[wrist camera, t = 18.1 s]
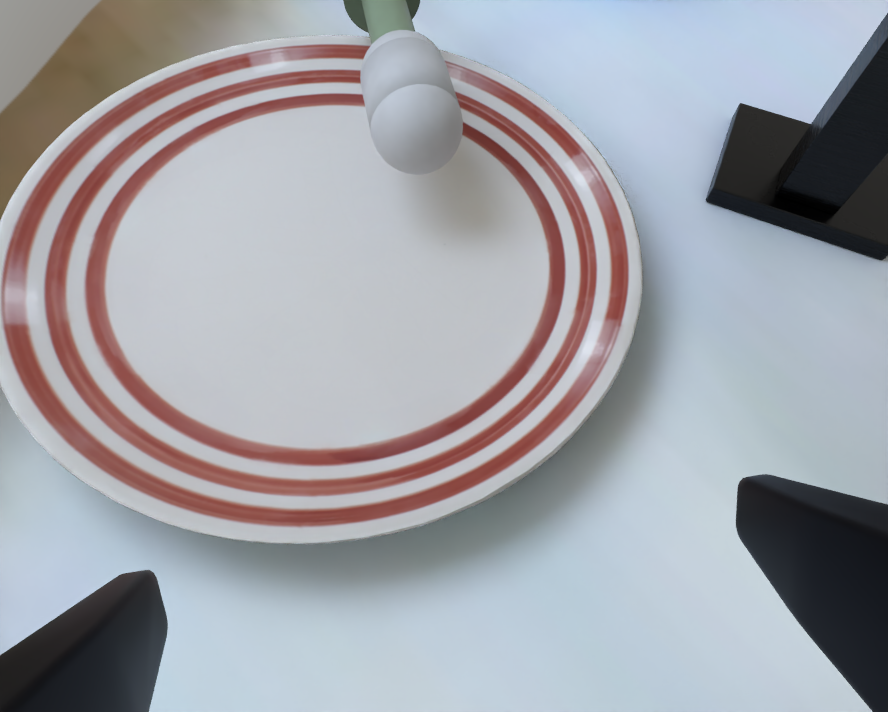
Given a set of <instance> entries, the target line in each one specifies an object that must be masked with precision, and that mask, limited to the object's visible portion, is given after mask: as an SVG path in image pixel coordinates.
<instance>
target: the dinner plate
mask: <svg viewBox="0 0 888 712" xmlns="http://www.w3.org/2000/svg"><path fill="white" fill-rule="evenodd" d="M371 45H372V44H371V40H370V37H364V36H351V35H312V36H296V37H286V38H277V39H269V40H263V41H257V42H251V43H246V44H241V45H236V46H232V47H227V48H224V49H221V50H217V51H213V52H210V53H206V54H202V55H199V56H196V57H193V58H190V59H187V60H184V61H181V62H179V63H176V64H173V65H171V66H168V67H166V68H163V69H161V70H159V71H156V72H154V73H152V74H150V75H148V76H146V77H144V78H142V79H140V80H138V81H136V82H134V83H132V84H131V85H129V86H127V87H125V88H123V89H121V90H119V91H118V92H116V93H114V94H113V95H111V96H109V97H108V98H106V99H105V100H104V101H102V102H101V103H99V104H98V105H96V106H95V107H94V108H92V109H91V110H89V111H88V112H87V113H85V114H84V115H83V116H81V117H80V118H79V119H78V120H77V121H75V122H74V123H73V124H72V125H71V126H69V127H68V128H67V129H66V130H65V131H64V132H63V133H62V134H61V135H60V136H59V137H58V138H57V139H56V140H55V141H54V142H53V143H52V144H51V145H50V146H49V147H48V148H47V149H46V150H45V152H44V153H43V154H42V155H41V156H40V157H39V159H38V160H37V161H36V162H35V163H34V165H33V166H32V167H31V168H30V170H29V171H28V173H27V174H26V175H25V177H24V178H23V180H22V181H21V183H20V184H19V186H18V188H17V189H16V191H15V193H14V194H13V196H12V197H11V199H10V201H9V203H8V205H7V207H6V210H5V212H4V214H3V216H2V218H1V221H0V386H1V388H2V390H3V392H4V394H5V396H6V398H7V400H8V402H9V404H10V405H11V407H12V409H13V410H14V412H15V414H16V415H17V416H18V418H19V419H20V421H21V422H22V424H23V425H24V426H25V427H26V429H27V430H28V431H29V432H30V434H31V435H32V436H33V437H34V439H35V440H36V441H37V442H38V443H39V444H40V445H41V446H42V447H43V448H44V449H45V450H46V451H47V452H48V453H49V454H50V455H51V457H52V458H53V459H54V460H56V461H57V462H58V463H59V464H60V465H62V466H63V467H64V468H65V469H66V470H68V471H69V472H70V473H72V474H73V475H74V476H76V477H77V478H78V479H80V480H81V481H83V482H84V483H86V484H88V485H89V486H91V487H92V488H94V489H95V490H97V491H99V492H100V493H102V494H103V495H105V496H107V497H108V498H110V499H112V500H113V501H115V502H117V503H119V504H121V505H123V506H125V507H127V508H130V509H132V510H134V511H136V512H139V513H141V514H143V515H146V516H148V517H151V518H153V519H156V520H158V521H161V522H163V523H166V524H170V525H173V526H177V527H180V528H183V529H187V530H190V531H193V532H197V533H201V534H206V535H211V536H216V537H221V538H226V539H232V540H240V541H248V542H256V543H278V544H296V543H298V544H324V543H335V542H344V541H352V540H360V539H366V538H372V537H378V536H383V535H389V534H393V533H398V532H402V531H406V530H410V529H413V528H417V527H420V526H423V525H426V524H430V523H433V522H436V521H438V520H441V519H444V518H446V517H449V516H451V515H454V514H456V513H458V512H461V511H463V510H466V509H468V508H470V507H473V506H475V505H478V504H480V503H482V502H484V501H485V500H487V499H489V498H491V497H493V496H495V495H497V494H499V493H500V492H502V491H504V490H505V489H507V488H509V487H510V486H512V485H513V484H515V483H517V482H518V481H520V480H521V479H522V478H524V477H525V476H527V475H528V474H529V473H531V472H532V471H534V470H535V469H536V468H538V467H539V466H540V465H542V464H543V463H544V462H545V461H547V460H548V459H549V458H551V457H552V456H553V455H554V454H556V453H557V452H558V451H559V450H560V449H561V448H562V447H563V446H564V445H565V444H566V443H567V442H568V441H569V440H570V439H571V438H572V437H573V436H574V435H575V434H576V432H577V431H578V430H579V429H580V428H581V427H582V425H583V424H584V423H585V422H586V421H587V420H588V418H589V417H590V416H591V415H592V414H593V412H594V411H595V410H596V408H597V407H598V405H599V404H600V403H601V401H602V400H603V398H604V397H605V396H606V394H607V392H608V391H609V389H610V388H611V386H612V384H613V383H614V381H615V379H616V377H617V375H618V373H619V371H620V369H621V367H622V365H623V363H624V361H625V359H626V356H627V353H628V351H629V348H630V345H631V343H632V340H633V336H634V332H635V329H636V325H637V321H638V317H639V311H640V305H641V298H642V286H643V269H642V256H641V249H640V241H639V235H638V232H637V228H636V224H635V220H634V217H633V214H632V211H631V208H630V205H629V203H628V201H627V198H626V196H625V194H624V191H623V189H622V187H621V186H620V184H619V182H618V180H617V178H616V177H615V175H614V173H613V171H612V170H611V168H610V166H609V165H608V164H607V162H606V161H605V159H604V158H603V156H602V155H601V154H600V152H599V151H598V149H597V148H596V147H595V146H594V145H593V144H592V143H591V141H590V140H589V139H588V138H587V137H586V136H585V135H584V134H583V133H582V132H581V131H580V130H579V129H578V128H577V127H576V126H575V125H574V124H573V123H572V122H571V121H570V120H569V119H568V118H567V117H566V116H565V115H564V114H563V113H561V112H560V111H559V110H558V109H556V108H555V107H554V106H553V105H551V104H550V103H549V102H548V101H546V100H545V99H544V98H542V97H541V96H539V95H538V94H536V93H535V92H533V91H532V90H530V89H529V88H527V87H526V86H524V85H522V84H521V83H519V82H517V81H515V80H514V79H512V78H510V77H508V76H506V75H504V74H502V73H500V72H498V71H496V70H494V69H492V68H490V67H487V66H485V65H482V64H480V63H478V62H475V61H473V60H470V59H467V58H465V57H462V56H459V55H456V54H453V53H450V52H446V51H443V50H439V51H440V53H441V55H442V56H443V58H444V60H445V63H446V66H447V69H448V72H449V75H450V78H451V81H452V84H453V88H454V91H455V94H456V97H457V100H458V103H459V106H460V109H461V113H462V119H463V132H462V138H461V142H460V144H459V146H458V149H457V151H456V153H455V154H454V156H453V157H452V158H451V159H450V160H449V161H448V162H447V163H446V164H445V165H444V166H442V167H441V168H440V169H438V170H436V171H434V172H431V173H428V174H422V175H414V174H408V173H404V172H401V171H399V170H397V169H395V168H393V167H392V166H390V165H389V164H388V163H387V162H386V161H385V160H384V159H383V158H382V157H381V155H380V154H379V153H378V151H377V150H376V147H375V145H374V143H373V140H372V137H371V132H370V127H369V122H368V118H367V113H366V108H365V103H364V98H363V93H362V88H361V79H360V76H361V67H362V62H363V59H364V57H365V54H366V52H367V50H368V49H369V48H370V46H371Z"/></svg>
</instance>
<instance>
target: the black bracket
mask: <svg viewBox="0 0 888 712" xmlns="http://www.w3.org/2000/svg"><path fill="white" fill-rule="evenodd" d="M706 201H707V202H709V203H712V204H715V205H718V206H721V207H724V208H727V209H730V210H733V211H736V212H739V213H742V214H745V215H748V216H751V217H754V218H757V219H760V220H763V221H766V222H769V223H772V224H775V225H778V226H781V227H784V228H787V229H790V230H793V231H796V232H799V233H802V234H805V235H808V236H811V237H814V238H817V239H820V240H823V241H826V242H829V243H832V244H835V245H838V246H841V247H843V248H846V249H849V250H852V251H855V252H858V253H861V254H864V255H867V256H870V257H873V258H876V259H879V260H883V259H884V258H885V257H887V256H888V13H887V15H886V16H885V18H884V19H883V21H882V22H881V23H880V25H879V26H878V28H877V29H876V31H875V32H874V34H873V35H872V37H871V38H870V39H869V41H868V42H867V44H866V45H865V47H864V48H863V50H862V51H861V53H860V54H859V55H858V57H857V58H856V60H855V61H854V63H853V64H852V66H851V67H850V68H849V70H848V71H847V73H846V74H845V76H844V77H843V79H842V80H841V82H840V83H839V84H838V86H837V87H836V89H835V90H834V92H833V93H832V95H831V96H830V97H829V99H828V100H827V102H826V103H825V105H824V106H823V108H822V109H821V111H820V112H819V113H818V115H817V116H816V118H815V119H814V121H813V122H812V124H808V123H805V122H802V121H798V120H795V119H792V118H788V117H785V116H782V115H778V114H775V113H772V112H768V111H765V110H762V109H758V108H755V107H752V106H749V105H745V104H742V103H740V104H739V106H738V108H737V110H736V112H735V113H734V115H733V117H732V120H731V124H730V127H729V130H728V133H727V136H726V139H725V142H724V145H723V148H722V151H721V154H720V157H719V161H718V164H717V167H716V170H715V173H714V176H713V179H712V182H711V185H710V188H709V191H708V195H707V198H706Z"/></svg>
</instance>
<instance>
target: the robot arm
mask: <svg viewBox="0 0 888 712" xmlns="http://www.w3.org/2000/svg"><path fill="white" fill-rule="evenodd" d="M736 528H737V532H738V535H739V537H740V539H741V541H742V542H743V544H744V545H745V547H746V548H747V550H748V551H749V553H750V554H751V555H752V557H753V558H754V560H755V561H756V563H757V564H758V566H759V567H760V568H761V570H762V571H763V573H764V574H765V576H766V577H767V579H768V580H769V581H770V583H771V584H772V586H773V587H774V589H775V590H776V592H777V593H778V594H779V596H780V597H781V599H782V600H783V602H784V603H785V605H786V606H787V607H788V609H789V610H790V612H791V613H792V614H793V616H794V617H795V618H796V620H797V621H798V622H799V624H800V625H801V626H802V627H803V629H804V630H805V631H806V632H807V634H808V635H809V636H810V637H811V638H812V640H813V641H814V642H815V643H816V644H817V646H818V647H819V648H820V649H821V650H822V652H823V653H824V654H825V655H826V656H827V658H828V659H829V660H830V661H831V662H832V664H833V665H834V666H835V667H836V668H837V669H838V671H839V672H840V673H841V674H842V675H843V677H844V678H845V679H846V680H847V681H848V683H849V684H850V685H851V686H852V687H853V689H854V690H855V691H856V692H857V693H858V695H859V696H860V697H861V698H862V699H863V700H864V702H865V703H866V704H867V705H868V706H869V708H870V709H871V710H872V711H873V712H888V505H887V504H883V503H879V502H875V501H871V500H867V499H863V498H859V497H855V496H851V495H847V494H843V493H840V492H836V491H832V490H828V489H824V488H820V487H816V486H812V485H808V484H804V483H800V482H796V481H792V480H788V479H784V478H780V477H776V476H772V475H767V474H765V475H757V476H751V477H745V478H743V479H742V480H741V481H740V482H739V485H738V492H737V511H736ZM167 629H168V623H167V616H166V612H165V608H164V605H163V601H162V597H161V593H160V589H159V585H158V581H157V578H156V576H155V575H154V573H153V572H151V571H150V570H144V571H138V572H131V573H125V574H122V575H119V576H118V577H116V578H115V579H113V580H112V581H110V582H109V583H107V584H106V585H104V586H103V587H101V588H100V589H98V590H97V591H95V592H94V593H92V594H91V595H89V596H88V597H86V598H85V599H83V600H82V601H80V602H79V603H77V604H76V605H74V606H73V607H71V608H70V609H69V610H67V611H66V612H64V613H63V614H61V615H60V616H58V617H57V618H55V619H54V620H52V621H51V622H49V623H48V624H46V625H45V626H43V627H42V628H40V629H39V630H37V631H36V632H34V633H33V634H31V635H30V636H28V637H27V638H25V639H24V640H22V641H21V642H19V643H18V644H17V645H15V646H14V647H12V648H11V649H9V650H8V651H6V652H5V653H3V654H2V655H0V712H149V708H150V704H151V700H152V696H153V692H154V687H155V683H156V679H157V675H158V670H159V666H160V662H161V658H162V654H163V649H164V645H165V641H166V637H167Z"/></svg>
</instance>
